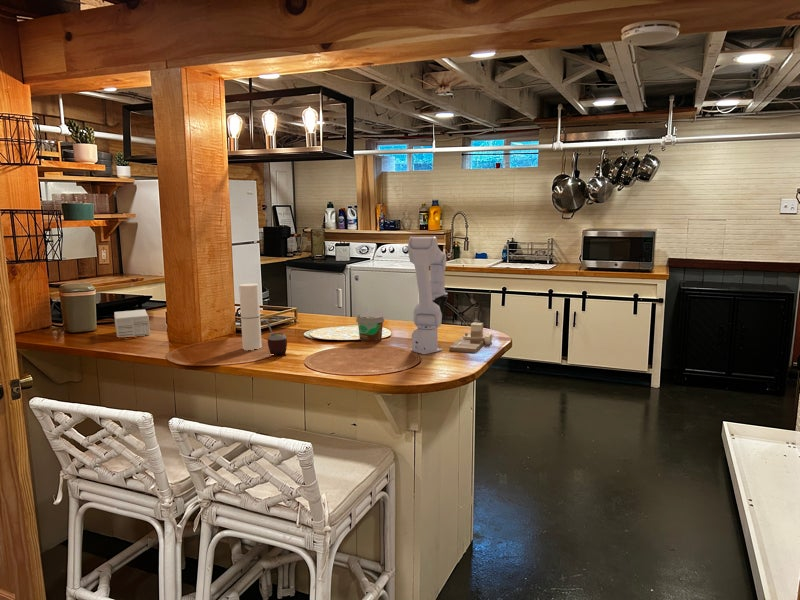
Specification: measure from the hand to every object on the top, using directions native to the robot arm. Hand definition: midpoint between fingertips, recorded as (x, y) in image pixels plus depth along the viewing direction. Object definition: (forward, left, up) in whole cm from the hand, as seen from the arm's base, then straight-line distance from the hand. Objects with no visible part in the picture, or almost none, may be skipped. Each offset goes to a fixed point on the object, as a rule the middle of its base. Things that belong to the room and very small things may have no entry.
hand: (437, 315), depth 234 cm
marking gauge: (+9, -13, -10) cm, 19 cm away
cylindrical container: (-63, +38, -11) cm, 74 cm away
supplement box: (-92, +98, -11) cm, 135 cm away
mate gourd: (-61, +21, -11) cm, 65 cm away
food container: (-22, +18, -11) cm, 30 cm away
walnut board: (+3, -15, -10) cm, 19 cm away
